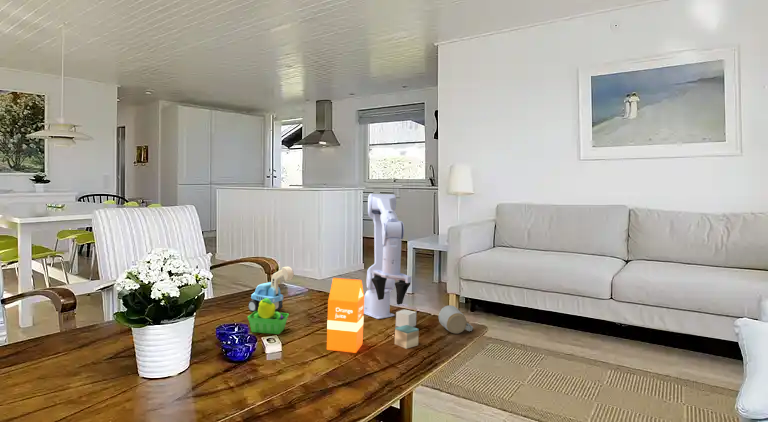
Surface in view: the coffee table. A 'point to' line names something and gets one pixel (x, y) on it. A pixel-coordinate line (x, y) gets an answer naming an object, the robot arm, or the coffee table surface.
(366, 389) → the coffee table surface
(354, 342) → the orange juice
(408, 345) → the maple cube
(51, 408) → the coffee table surface
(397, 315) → the grey cube
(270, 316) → the fruit basket
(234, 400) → the coffee table surface
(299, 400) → the coffee table surface
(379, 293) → the robot arm
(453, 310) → the ceramic mug
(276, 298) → the toy excavator
